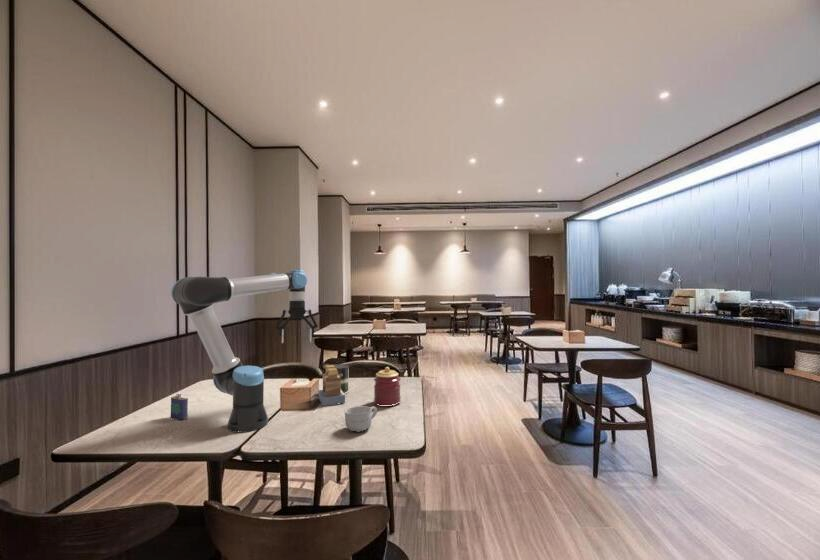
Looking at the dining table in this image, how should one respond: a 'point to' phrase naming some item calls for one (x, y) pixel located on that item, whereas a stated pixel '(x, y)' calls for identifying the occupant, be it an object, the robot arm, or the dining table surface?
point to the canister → (387, 387)
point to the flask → (179, 407)
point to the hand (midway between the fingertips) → (296, 342)
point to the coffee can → (343, 376)
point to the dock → (331, 398)
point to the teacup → (359, 417)
